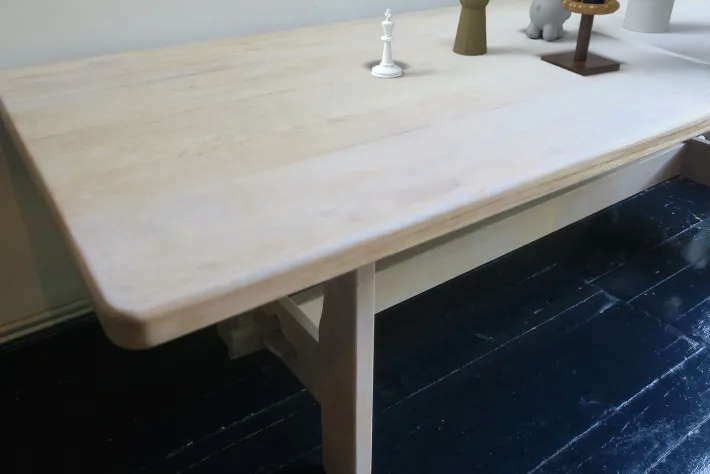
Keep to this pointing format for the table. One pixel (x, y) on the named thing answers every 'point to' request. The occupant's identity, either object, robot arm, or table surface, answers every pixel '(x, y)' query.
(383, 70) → the chess piece
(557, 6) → the round bodied animal figurine
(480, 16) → the olive tapered cylinder
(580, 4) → the ring
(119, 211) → the table surface
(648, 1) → the cup
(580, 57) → the wooden peg stand
